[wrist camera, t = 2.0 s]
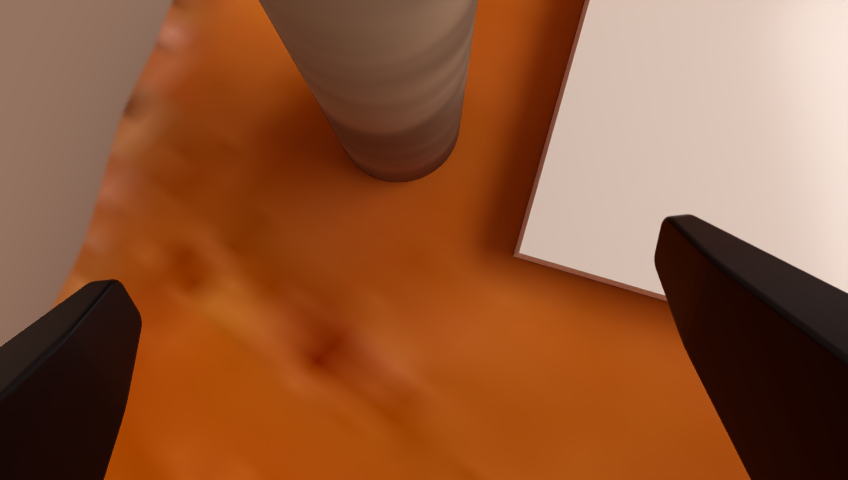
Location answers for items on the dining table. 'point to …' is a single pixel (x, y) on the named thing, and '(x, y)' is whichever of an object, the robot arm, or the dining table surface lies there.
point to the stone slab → (696, 136)
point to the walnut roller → (383, 75)
